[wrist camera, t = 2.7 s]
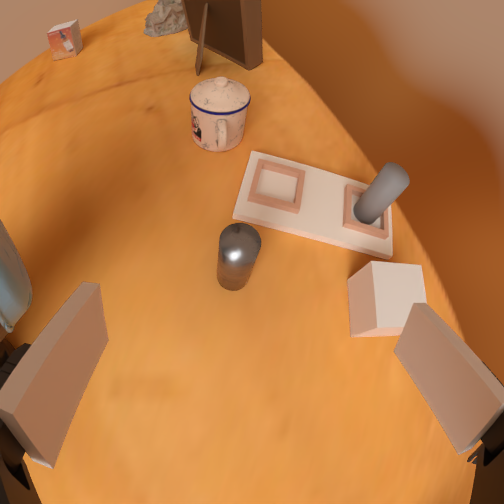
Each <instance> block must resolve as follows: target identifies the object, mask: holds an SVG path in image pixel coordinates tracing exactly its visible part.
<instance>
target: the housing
mask: <svg viewBox="0 0 504 504" xmlns="http://www.w3.org/2000/svg"><path fill="white" fill-rule="evenodd" d="M347 282H348V297H349V315H350V337H373V336H396V335H401V333H402V331H403V328H404V326H405V323H406V321H407V318H408V316H409V313H410V311H411V308H412V305H413V303H426V304H427V302H426V294H425V287H424V280H423V273H422V267H421V265H413V264H402V263H391V262H380V261H370V262H369V263H368V264H367V265H365V266H364V267H363V268H362V269H360V270H359V271H358V272H356V273H355V274H354V275H353V276H351V277H350V278H349V279H348V280H347Z"/></svg>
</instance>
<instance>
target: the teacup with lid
mask: <svg viewBox="0 0 504 504" xmlns="http://www.w3.org/2000/svg"><path fill="white" fill-rule="evenodd" d="M250 99H251V97H250V93H249V91H248V89H247V88H246V87H245V86H244V85H243V84H241V83H239V82H237V81H235V80H232V79H227V78H226V77H217V78H212V79H207V80H204V81H202V82H200V83H198V84H197V85H196V86H195V87H194V88H193V89H192V91H191V93H190V102H191V120H192V138H193V140H194V142H195V143H196V144H197V145H198V146H200V147H201V148H203V149H206V150H209V151H215V152H220V151H227V150H230V149H232V148H234V147H236V146H237V145H238V144H239V143H240V142H241V140H242V137H243V132H244V126H245V120H246V113H247V107H248V105H249V103H250Z"/></svg>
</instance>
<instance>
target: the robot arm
mask: <svg viewBox="0 0 504 504" xmlns="http://www.w3.org/2000/svg"><path fill="white" fill-rule="evenodd" d="M31 302H32V286H31V282H30V278H29V276H28V273H27V270H26V268H25V266H24V264H23V261H22V259H21V257H20V255H19V253H18V251H17V249H16V247H15V245H14V243H13V241H12V239H11V238H10V236H9V234H8V232H7V230H6V228H5V227H4V225H3V223H2V221H1V220H0V504H42V503H41V501H40V499H39V496H38V494H37V492H36V489H35V487H34V485H33V482H32V479H31V477H30V474H29V471H28V469H27V466H26V464H25V462H24V460H23V456H24V453H25V452H26V453H27V454H28V455H29V456H30V458H31V459H32V460H33V461H35V462H37V463H39V464H42V465H44V466H47V467H49V468H52V469H54V466H55V463H56V460H57V458H58V455H59V452H60V450H61V447H62V444H63V442H64V439H65V436H66V434H67V431H68V429H69V426H70V424H71V421H72V419H73V417H74V414H75V412H76V409H77V407H78V405H79V402H80V400H81V398H82V396H83V393H84V391H85V389H86V387H87V384H88V382H89V380H90V378H91V376H92V374H93V371H94V369H95V367H96V365H97V363H98V361H99V359H100V357H101V355H102V353H103V351H104V349H105V347H106V345H107V343H108V341H109V340H108V334H107V329H106V323H105V317H104V311H103V304H102V297H101V290H100V284H97V283H89V282H82V283H81V285H80V286H79V287H78V288H77V289H76V290H75V291H74V293H73V294H72V295H71V296H70V297H69V298H68V300H67V301H66V302H65V303H64V304H63V306H62V307H61V308H60V309H59V311H58V312H57V313H56V314H55V315H54V317H53V318H52V319H51V320H50V322H49V323H48V324H47V325H46V327H45V328H44V329H43V331H42V332H41V333H40V334H39V336H38V337H37V338H36V340H35V341H34V342H33V344H32V345H30V344H26V343H25V344H23V345H22V346H20V347H19V348H17V349H16V350H15V349H14V348H13V346H12V345H11V344H10V343H9V342H8V341H7V340H6V339H5V338H4V337H5V336H6V335H7V334H8V333H11V332H12V331H13V330H14V325H15V324H16V323H17V322H18V321H19V319H20V318H21V317H22V316H23V315H24V313H25V312H26V311H27V310H28V308H29V307H30V305H31ZM394 353H395V354H396V356H397V357H398V359H399V360H400V362H401V363H402V364H403V366H404V368H405V369H406V371H407V372H408V374H409V375H410V377H411V378H412V380H413V381H414V383H415V384H416V386H417V387H418V389H419V391H420V392H421V394H422V395H423V397H424V398H425V400H426V402H427V403H428V405H429V406H430V408H431V410H432V411H433V413H434V414H435V416H436V418H437V419H438V421H439V423H440V424H441V426H442V428H443V429H444V431H445V433H446V434H447V436H448V438H449V439H450V441H451V443H452V445H453V446H454V448H455V450H456V452H457V453H458V455H459V454H462V453H464V452H466V451H468V450H470V449H471V448H472V447H473V446H474V445H475V444H476V443H477V442H478V441H479V440H480V439H481V440H482V442H483V443H482V444H481V445H480V446H479V447H478V448H477V450H476V451H475V452H474V453H473V454H472V455H471V456H470V457H469V458H468V460H467V462H470V461H471V460H472V459H473V458H474V457H475V456H477V457H476V458H475V459H474V461H473V462H472V463H473V464H476V471H475V478H474V484H473V489H472V495H471V500H470V504H504V386H503V384H502V383H501V382H500V381H499V380H498V378H496V376H495V375H494V374H493V373H492V372H490V369H489V368H488V367H487V366H486V365H485V363H484V362H482V361H481V360H480V359H479V358H478V357H477V356H476V355H475V354H474V352H473V351H472V350H471V349H470V348H469V347H468V346H467V345H466V344H465V343H464V342H463V340H462V339H461V338H460V337H459V336H458V335H457V334H456V333H455V332H454V331H453V330H452V329H451V328H450V327H449V326H448V325H447V324H446V323H445V322H444V321H443V320H442V319H441V318H440V317H439V316H438V315H437V314H436V313H435V312H434V311H433V310H432V309H431V308H430V307H429V306H428V305H427V304H426V303H413V305H412V308H411V311H410V313H409V316H408V318H407V321H406V323H405V326H404V328H403V331H402V333H401V335H400V338H399V340H398V342H397V345H396V347H395V349H394Z"/></svg>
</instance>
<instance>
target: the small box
mask: <svg viewBox="0 0 504 504" xmlns="http://www.w3.org/2000/svg"><path fill="white" fill-rule="evenodd" d="M47 35H48V40H49V44H50V48H51V52H52V56H53V59H54V61H56V60H59V59H64V58H68V57H74V56H77V54H78V53H79V52H80V51H81V49H82V48H83V44H82V39H81V34H80V28H79V22H78V20H74V21H71V22H67V23H63V24H60V25H55V26H54V27H53V28H52V29H51V30H50V31H49V32H48V33H47Z"/></svg>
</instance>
